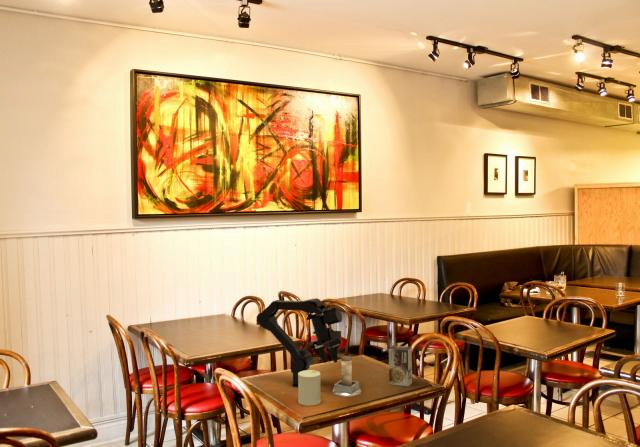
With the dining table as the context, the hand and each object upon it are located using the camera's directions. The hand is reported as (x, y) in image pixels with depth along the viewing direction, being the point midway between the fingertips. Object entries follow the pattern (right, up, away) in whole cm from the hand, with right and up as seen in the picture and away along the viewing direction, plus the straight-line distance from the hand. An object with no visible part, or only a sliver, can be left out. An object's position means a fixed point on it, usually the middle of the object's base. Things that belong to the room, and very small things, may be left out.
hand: (330, 362), depth 236 cm
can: (-9, -12, -15) cm, 21 cm away
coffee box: (+31, -11, +7) cm, 34 cm away
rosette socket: (+7, -11, -4) cm, 14 cm away
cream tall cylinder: (+7, -11, -4) cm, 13 cm away
